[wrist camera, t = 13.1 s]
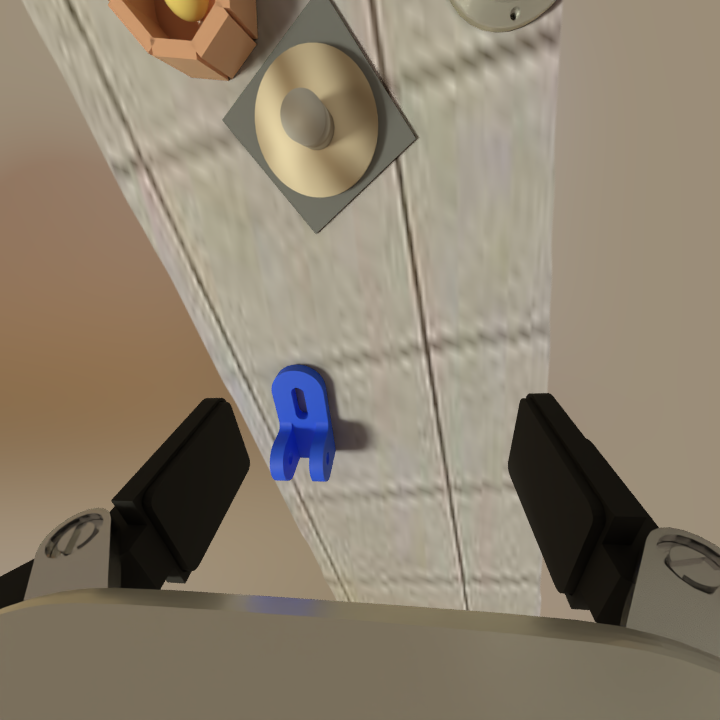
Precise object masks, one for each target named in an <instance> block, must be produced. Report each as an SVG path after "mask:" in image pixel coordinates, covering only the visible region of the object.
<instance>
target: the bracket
mask: <svg viewBox="0 0 720 720" xmlns="http://www.w3.org/2000/svg"><path fill="white" fill-rule="evenodd" d="M295 388H299V389H301V390H302V391H303V392H304V396H305V401H306V406H307V411H308V412H302V411H301V410H300V409H299V405H298V401H297V396H296V391H295ZM272 395H273V398H274V402H275V406H276V410H277V414H278V418H279V422H280V429H279V433H278V435H277V437H276V439H275V441H274V444H273V446H272V450H271V455H270V471H271V475H272V477H273V479H274V480H284V481H289V480H291V479H292V477H293V475H294V473H295V470H296V467H297V464H298V461H299V459H300V458H309V470H310V476H311V479H312V481H328V480H329V477H330V474H331V469H332V465H333V460H334V456H335V451H336V449H335V442H334V436H333V430H332V423H331V417H330V411H329V404H328V398H327V392H326V386H325V382H324V380H323V378H322V377H321V376H320V374H319V373H318V372H316V371H315V370H314V369H312V368H310V367H307V366H304V365H290V366H287V367H285V368H283V369H282V370H281V371H280V372H279V373H278V375H277V377H276V378H275V380H274V382H273V384H272Z"/></svg>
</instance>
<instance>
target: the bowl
mask: <svg viewBox="0 0 720 720" xmlns="http://www.w3.org/2000/svg"><path fill="white" fill-rule="evenodd" d="M108 1H110V2H109V4H108V6H109V7H110V8H111V9H112V11H113V12H114V13H115V14H116V15H117V16H118V18H119V19H120V20H121V21H122V22H123V24H124V25H125V26H126V27H127V28H128V30H129V31H130V32H131V33H132V34H133V35H134V37H135V38H136V39H137V40H138V41H139V43H140V44H141V45H142V46H143V47H144V49H145V50H146V51H147V52H148V53H149V54H151V55H153V56H154V57H156V58H158V59H160V60H161V61H163V62H165V63H167V64H168V65H170V66H172V67H174V68H176V69H177V70H179V71H181V72H183V73H185V74H186V75H188V76H190V77H192V78H203V79H214V80H225V81H229V80H228V77H230V78H231V79H233V77H234V76H235V74H236V73H237V72H238V70H239V69H240V67H241V66H242V65H243V63H244V62H245V60H246V59H247V57H248V56H249V55H250V53H251V52H252V50H253V49H254V48H255V46H256V45H257V44H256V43H255V42H254V40H253V39H258V31H257V11H256V0H108Z"/></svg>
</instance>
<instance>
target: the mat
mask: <svg viewBox="0 0 720 720" xmlns="http://www.w3.org/2000/svg"><path fill="white" fill-rule="evenodd" d="M303 43H323V44H327V45H330V46H333V47H335V48H337V49H339V50H340V51H342V52H344V53H345V54H346V55H347V56H349V57H350V58H351V59H352V60H353V61H354V62H355V63H356V64H357V65H358V67H359V68H360V69H361V71H362V72H363V74H364V75H365V77H366V79H367V81H368V83H369V85H370V87H371V90H372V92H373V96H374V99H375V103H376V108H377V114H378V138H377V144H376V148H375V152H374V155H373V158H372V160H371V163H370V165H369V167H368V168H367V170H366V172H365V173H364V175H363V176H362V177H361V178H360V179H359V181H358V182H357V183H356V184H354V185H353V186H352V187H351V188H349V189H348V190H346V191H345V192H342V193H340V194H338V195H334V196H330V197H310V196H306V195H303V194H300V193H298V192H296V191H294V190H292V189H291V188H289V187H288V186H286V185H285V184H284V183H283V182H282V181H280V179H279V178H278V177H277V176H276V175H275V174H274V173H273V171H272V170H271V169H270V167H269V165H268V164H267V162H266V160H265V158H264V156H263V154H262V152H261V149H260V146H259V143H258V139H257V134H256V127H255V104H256V98H257V93H258V90H259V86H260V83H261V81H262V79H263V77H264V74H265V73H266V71H267V70H268V68H269V66H270V65H271V64H272V63H273V61H274V60H275V59H276V58H277V57H278V56H279V55H281V54H282V53H283V52H285V51H286V50H288V49H289V48H291V47H294V46H296V45H299V44H303ZM223 122H224V123H225V124H226V125H227V126H228V128H229V129H230V130H231V131H232V133H233V134H234V135H235V136H236V137H237V139H238V140H239V141H240V142H241V144H242V145H243V146H244V147H245V148H246V150H247V151H248V152H249V153H250V154H251V156H252V157H253V158H254V159H255V161H256V162H257V163H258V164H259V165H260V167H261V168H262V169H263V170H264V171H265V173H266V174H267V175H268V176H269V178H270V179H271V180H272V181H273V182H274V184H275V185H276V186H277V187H278V189H279V190H280V191H281V192H282V193H283V195H284V196H285V197H286V198H287V199H288V201H289V202H290V203H291V204H292V206H293V207H294V208H295V209H296V210H297V212H298V213H299V214H300V215H301V216H302V218H303V219H304V220H305V221H306V223H307V224H308V225H309V226H310V227H311V229H312V230H313V231H314V232H315V234H317V233H318V232H319V231H320V230H321V229H322V228H323V227H324V226H325V225H326V224H327V223H328V222H329V221H330V220H331V219H332V218H333V217H334V216H335V215H337V214H338V213H339V212H340V211H341V210H342V209H343V208H344V207H345V206H346V205H347V204H348V203H349V202H350V201H351V200H352V199H353V198H354V197H355V196H356V195H357V194H359V193H360V192H361V191H362V190H363V189H364V188H365V187H366V186H367V185H368V184H369V183H370V182H371V181H372V180H373V179H374V178H375V177H376V176H377V175H378V174H379V173H381V172H382V171H383V170H384V169H385V168H386V167H387V166H388V165H389V164H390V163H391V162H392V161H393V160H394V159H395V158H396V157H397V156H398V155H399V154H400V153H402V152H403V151H404V150H405V149H406V148H407V147H408V146H409V145H410V144H411V143H412V142H413V141H414V140H415V139H416V138H415V136H414V135H413V133H412V131H411V130H410V128H409V127H408V125H407V123H406V122H405V120H404V119H403V117H402V115H401V114H400V112H399V111H398V109H397V108H396V106H395V104H394V103H393V101H392V100H391V98H390V96H389V95H388V93H387V92H386V90H385V88H384V87H383V85H382V84H381V82H380V80H379V79H378V77H377V76H376V74H375V72H374V71H373V69H372V68H371V66H370V64H369V63H368V61H367V60H366V58H365V57H364V55H363V53H362V52H361V50H360V49H359V47H358V45H357V44H356V42H355V41H354V39H353V37H352V36H351V34H350V33H349V31H348V29H347V28H346V26H345V25H344V23H343V21H342V20H341V18H340V17H339V15H338V13H337V12H336V10H335V9H334V7H333V6H332V4H331V2H330V1H329V0H310V1H309V3H308V4H307V5H306V7H305V8H304V9H303V11H302V12H301V14H300V15H299V16H298V18H297V19H296V20H295V22H294V23H293V24H292V26H291V27H290V28H289V30H288V31H287V33H286V34H285V35H284V37H283V38H282V39H281V41H280V42H279V43H278V45H277V46H276V48H275V49H274V50H273V52H272V53H271V54H270V56H269V57H268V58H267V60H266V61H265V63H264V64H263V65H262V67H261V68H260V69H259V71H258V72H257V73H256V75H255V76H254V77H253V79H252V80H251V82H250V83H249V84H248V86H247V87H246V88H245V90H244V91H243V92H242V94H241V95H240V97H239V98H238V99H237V101H236V102H235V103H234V105H233V106H232V107H231V109H230V110H229V111H228V113H227V114H226V116H225V117H224V118H223Z"/></svg>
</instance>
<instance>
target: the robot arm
mask: <svg viewBox="0 0 720 720" xmlns="http://www.w3.org/2000/svg"><path fill="white" fill-rule="evenodd" d="M555 1H556V0H450V2H451V4H452V5H453V7H454V8H455V9H456V11H457V12H458V14H459V15H460V16H461V17H462V18H463V19H464V20H466V21H467V22H468V23H469V24H470V25H472V26H474V27H477V28H479V29H481V30H484V31H490V32H506V31H511V30H514V29H517V28H520V27H522V26H524V25H526V24H528V23H530V22H531V21H533V20H535V19H536V18H538V17H539V16H540V15H541V14H542V13H544V12H545V11H546V10H547V9H549V8H550V7H551V5H552V4H553V3H554V2H555ZM511 15H514V16H515V20H512V19H511V18H510V16H511ZM249 466H250V460H249V456H248V453H247V451H246V448H245V445H244V442H243V439H242V436H241V433H240V430H239V428H238V425H237V422H236V419H235V416H234V413H233V410H232V407H231V405H230V403H228V402H226V400H225V399H223V398H206V399H204V400H203V401H202V402H201V403H200V404H199V405H198V406H197V407H196V408H195V409H194V411H193V412H192V413H191V414H190V415H189V416H188V417H187V418H186V419H185V420H184V421H183V423H181V425H180V426H179V427H178V428H177V429H176V430H175V431H174V432H173V433H172V434H171V436H170V437H169V438H168V439H167V440H166V441H165V442H164V443H163V444H162V445H161V447H160V448H159V449H158V450H157V451H156V452H155V453H154V454H153V455H152V456H151V457H150V459H149V460H148V461H147V462H146V463H145V464H144V465H143V466H142V467H141V468H140V470H139V471H138V472H137V473H136V474H135V475H134V476H133V477H132V478H131V479H130V480H129V481H128V483H127V484H126V485H125V486H124V487H123V488H122V489H121V490H120V491H119V492H118V494H117V495H116V496H115V497H114V498H113V499H112V503H113V504H114V505H115V507H114V508H113V509H112V510H111V511H110V512H109V511H108V510H106V509H104V508H94V509H89V510H86V511H83V512H80V513H78V514H76V515H74V516H72V517H70V518H68V519H67V520H65V521H64V522H63V523H61V524H60V525H58V526H57V527H56V528H55V529H54V530H52V531H51V532H50V533H49V534H48V535H47V536H46V538H45V539H44V540H43V541H42V543H41V544H40V546H39V548H38V550H37V552H36V555H35V559H33V560H31V561H29V562H27V563H25V564H23V565H21V566H20V567H18V568H16V569H14V570H12V571H10V572H8V573H6V574H4V575H3V576H1V577H0V720H720V548H719V547H718V546H716V545H715V544H713V543H711V542H709V541H707V540H705V539H704V538H702V537H700V536H698V535H695V534H692V533H690V532H687V531H684V530H680V529H675V528H670V527H669V528H659V527H658V526H657V525H656V523H655V522H654V521H653V520H652V518H651V517H650V516H649V514H648V513H647V512H646V511H645V509H644V508H643V507H642V506H641V504H640V503H639V502H638V500H637V499H636V498H635V497H634V495H633V494H632V493H631V491H629V489H628V488H627V486H626V485H625V484H624V483H623V481H622V480H621V479H620V477H619V476H618V475H617V474H616V472H615V471H614V470H613V469H612V467H611V466H610V465H609V464H608V462H607V461H606V460H605V458H604V457H603V456H602V455H601V454H600V452H599V451H598V450H597V448H596V447H595V446H594V444H593V443H592V442H591V441H589V440H588V439H586V438H585V437H584V436H583V434H582V433H581V432H580V430H579V429H578V428H577V427H576V425H575V424H574V423H573V421H572V420H571V419H570V418H569V416H568V415H567V414H566V412H565V411H564V410H563V408H562V407H561V406H560V405H559V403H558V402H557V401H556V399H555V398H554V397H553V396H552V395H551V394H549V393H535V394H528V395H527V396H526V398H523V399H521V400H520V404H519V409H518V414H517V419H516V424H515V430H514V435H513V440H512V445H511V450H510V455H509V461H508V470H509V474H510V477H511V479H512V482H513V484H514V487H515V489H516V491H517V494H518V496H519V499H520V501H521V504H522V506H523V509H524V511H525V514H526V516H527V518H528V521H529V523H530V526H531V528H532V531H533V533H534V536H535V538H536V541H537V543H538V545H539V548H540V550H541V553H542V555H543V558H544V560H545V563H546V565H547V568H548V570H549V572H550V575H551V577H552V580H553V582H554V585H555V587H556V589H557V590H558V592H560V593H565V595H566V597H567V599H568V602H569V604H570V607H571V609H582V610H590V611H591V614H592V616H593V618H594V620H595V622H597V623H594V622H586V621H579V620H570V619H559V618H548V617H538V616H527V615H516V614H506V613H494V612H480V611H467V610H454V609H440V608H427V607H413V606H400V605H386V604H372V603H358V602H343V601H329V600H315V599H300V598H285V597H270V596H255V595H238V594H224V593H208V592H192V591H175V590H161V587H162V585H163V584H164V582H165V580H166V581H167V582H171V583H186V581H187V579H188V577H189V575H190V573H191V572H192V571H194V570H195V569H196V568H197V567H198V566H199V564H200V562H201V560H202V558H203V557H204V555H205V553H206V551H207V549H208V547H209V545H210V543H211V541H212V539H213V537H214V536H215V534H216V532H217V530H218V528H219V526H220V524H221V522H222V520H223V518H224V516H225V514H226V512H227V511H228V509H229V507H230V505H231V503H232V501H233V499H234V497H235V495H236V493H237V491H238V489H239V488H240V485H241V484H242V482H243V480H244V478H245V476H246V474H247V472H248V470H249Z"/></svg>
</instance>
